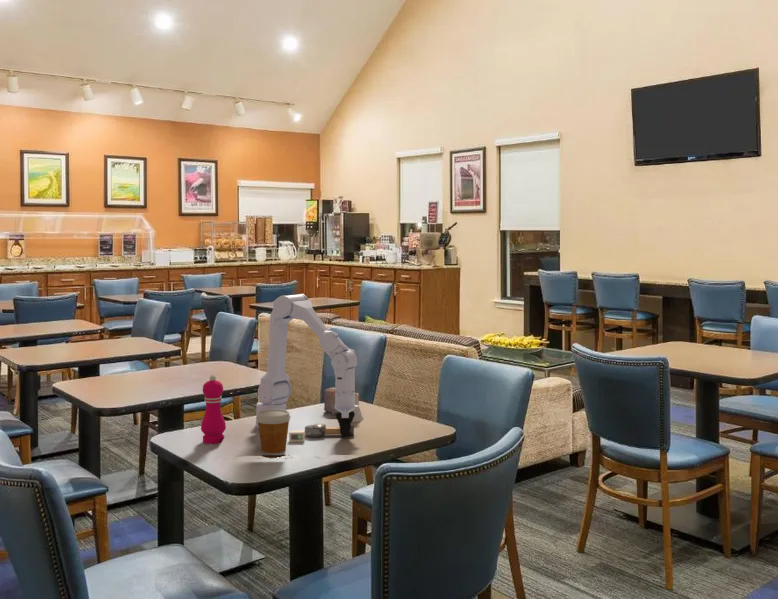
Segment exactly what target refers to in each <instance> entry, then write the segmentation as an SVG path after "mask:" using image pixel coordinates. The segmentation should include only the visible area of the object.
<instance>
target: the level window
mask: <svg viewBox="0 0 778 599" xmlns="http://www.w3.org/2000/svg"><path fill="white" fill-rule="evenodd" d="M288 432H289V433H288V435H289V436H288V437H289V438H288V442H289V443H298V442H299V443H304V442H305V441H306V437H305V429H304V430H303V429H302V430H296V429H295V430H294V429H293V430H289V431H288Z"/></svg>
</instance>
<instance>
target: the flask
mask: <svg viewBox="0 0 778 599" xmlns="http://www.w3.org/2000/svg"><path fill="white" fill-rule="evenodd" d="M358 396H359V397H360V393H359V392H355V405H359V406H360V403H359V404H358ZM353 411H354V413H355V416H354V418H353V420H352V423H354V422H355V423H356V422H362V421H364V418H363V415H362V414H363V413H362V411H361V408H360V407H359V408H358V409H354V410H353Z"/></svg>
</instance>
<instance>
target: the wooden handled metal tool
mask: <svg viewBox="0 0 778 599" xmlns="http://www.w3.org/2000/svg"><path fill="white" fill-rule="evenodd" d="M304 430H305V438H309V439H320V438H324V437H325V436H326V435H327V436H332V435H333V436H335V435H340V436H341V433H340V427H339V426H338V427H335V426H333V427H331V426H330V427H327V424H324V423H314V424H310V425H306V426H305V427H304ZM354 436H355V425H354V424H352V423H351V427H350V433H349V437H354Z"/></svg>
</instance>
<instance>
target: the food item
mask: <svg viewBox="0 0 778 599" xmlns="http://www.w3.org/2000/svg"><path fill="white" fill-rule="evenodd" d="M323 392H324V402H323V406H324V408H323V409H324V412H327V413H329V414H331V415H333V416H335V414H336V412H339V411H337V410H336V409H335V386H334V387H329V388H326V389H324V391H323ZM358 404H359V405H360V395H359V396H358Z"/></svg>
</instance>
